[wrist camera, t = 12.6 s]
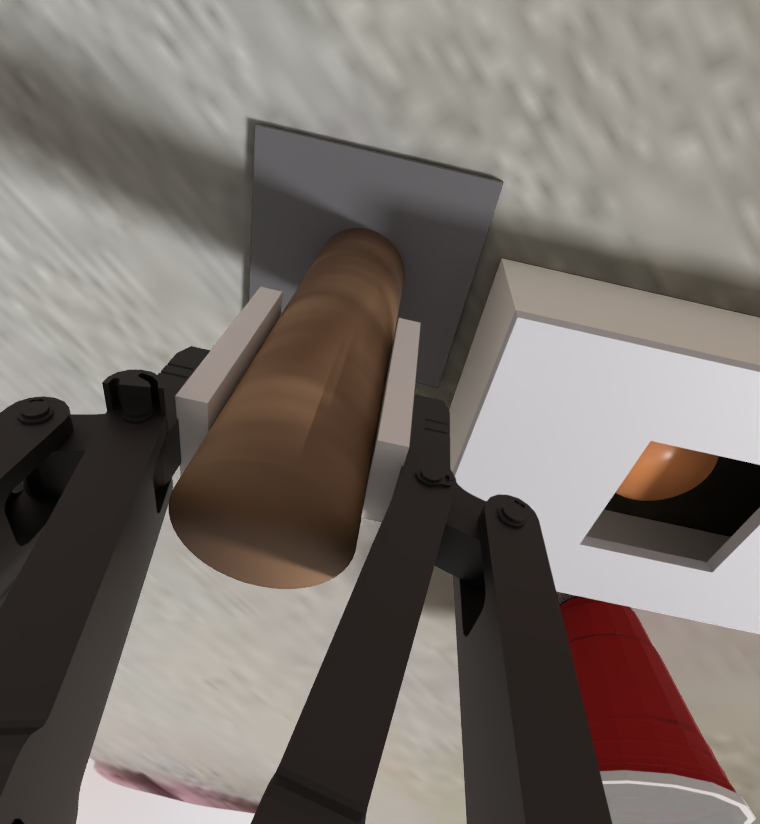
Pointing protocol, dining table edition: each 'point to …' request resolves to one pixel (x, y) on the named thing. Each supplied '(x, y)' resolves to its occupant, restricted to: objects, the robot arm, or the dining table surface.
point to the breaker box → (611, 432)
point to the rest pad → (371, 225)
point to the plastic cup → (643, 725)
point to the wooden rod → (299, 428)
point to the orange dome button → (666, 472)
